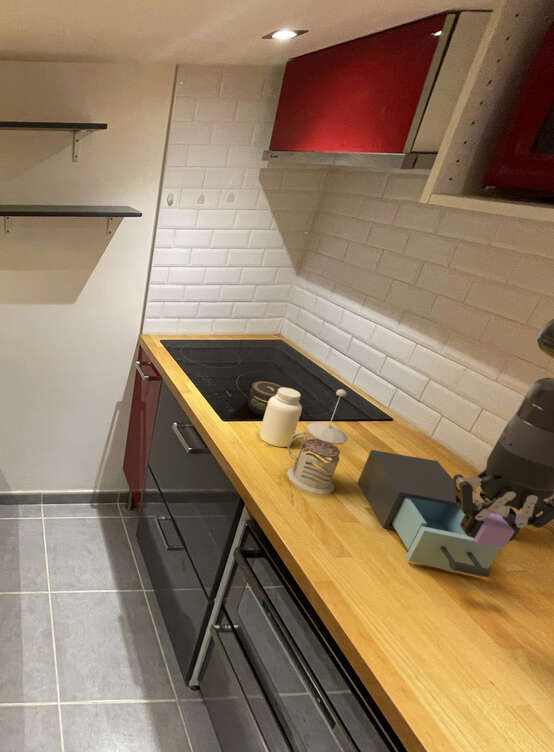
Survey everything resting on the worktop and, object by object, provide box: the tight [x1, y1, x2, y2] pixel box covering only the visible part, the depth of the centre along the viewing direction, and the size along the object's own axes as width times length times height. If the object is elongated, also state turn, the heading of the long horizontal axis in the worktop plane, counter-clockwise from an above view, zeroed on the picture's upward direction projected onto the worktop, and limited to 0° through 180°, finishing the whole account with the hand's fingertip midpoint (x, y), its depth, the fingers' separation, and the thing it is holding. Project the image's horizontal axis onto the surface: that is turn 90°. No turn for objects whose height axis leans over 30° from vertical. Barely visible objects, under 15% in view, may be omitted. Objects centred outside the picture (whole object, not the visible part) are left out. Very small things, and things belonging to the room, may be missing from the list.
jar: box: [247, 380, 285, 418], centre depth 136 cm, size 10×10×8 cm
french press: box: [286, 388, 349, 495], centre depth 103 cm, size 10×12×25 cm
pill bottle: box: [259, 387, 303, 448], centre depth 120 cm, size 8×8×15 cm
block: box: [472, 513, 515, 549], centre depth 71 cm, size 4×4×4 cm
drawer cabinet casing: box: [357, 449, 457, 531], centre depth 97 cm, size 15×13×10 cm
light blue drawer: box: [391, 496, 502, 578], centre depth 86 cm, size 19×12×8 cm, turn 163°
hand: (483, 536), depth 71 cm, fingers closed on block, 3 cm apart
